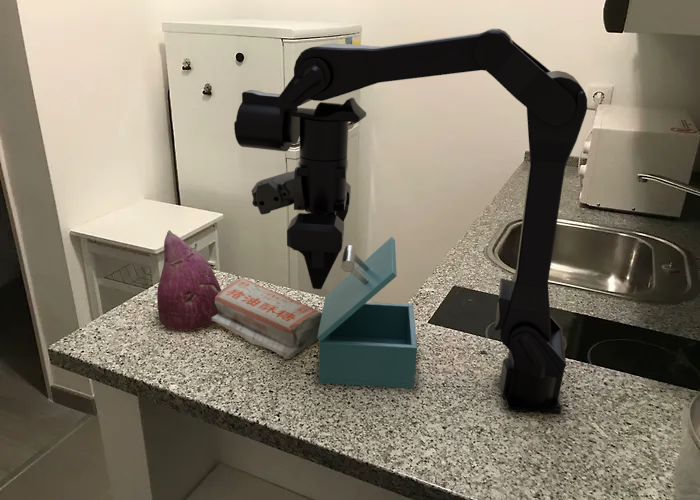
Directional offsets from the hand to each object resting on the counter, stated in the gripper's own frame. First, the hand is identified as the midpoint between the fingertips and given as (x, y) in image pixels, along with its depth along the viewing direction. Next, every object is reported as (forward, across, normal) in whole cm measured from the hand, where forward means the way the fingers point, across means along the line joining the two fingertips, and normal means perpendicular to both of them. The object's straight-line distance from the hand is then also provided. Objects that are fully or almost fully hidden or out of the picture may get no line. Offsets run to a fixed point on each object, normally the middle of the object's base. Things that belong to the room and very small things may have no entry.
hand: (320, 272), depth 76 cm
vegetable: (+14, -10, -21) cm, 27 cm away
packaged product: (+13, -7, -9) cm, 18 cm away
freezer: (+13, 0, +7) cm, 15 cm away
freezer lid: (+2, 0, +5) cm, 6 cm away
